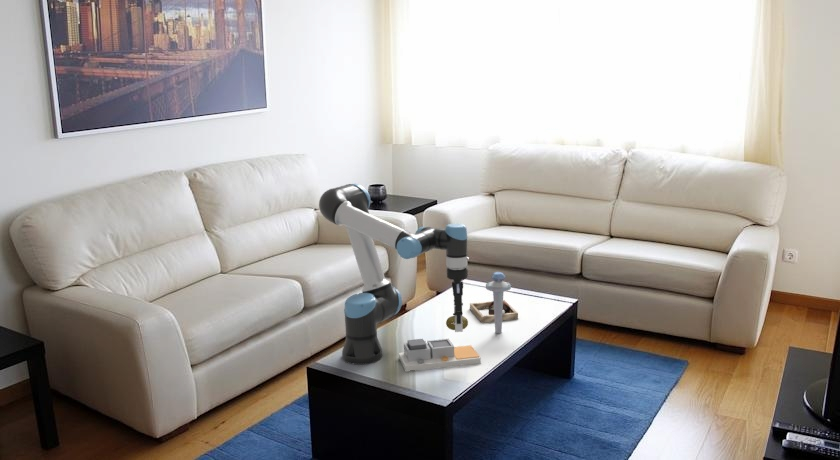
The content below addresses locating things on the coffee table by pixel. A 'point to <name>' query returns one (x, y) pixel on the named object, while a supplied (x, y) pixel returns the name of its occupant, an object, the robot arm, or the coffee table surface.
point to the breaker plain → (416, 344)
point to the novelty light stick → (498, 297)
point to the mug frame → (489, 318)
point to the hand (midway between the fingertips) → (458, 327)
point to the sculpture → (451, 322)
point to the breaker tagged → (440, 344)
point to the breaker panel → (438, 356)
